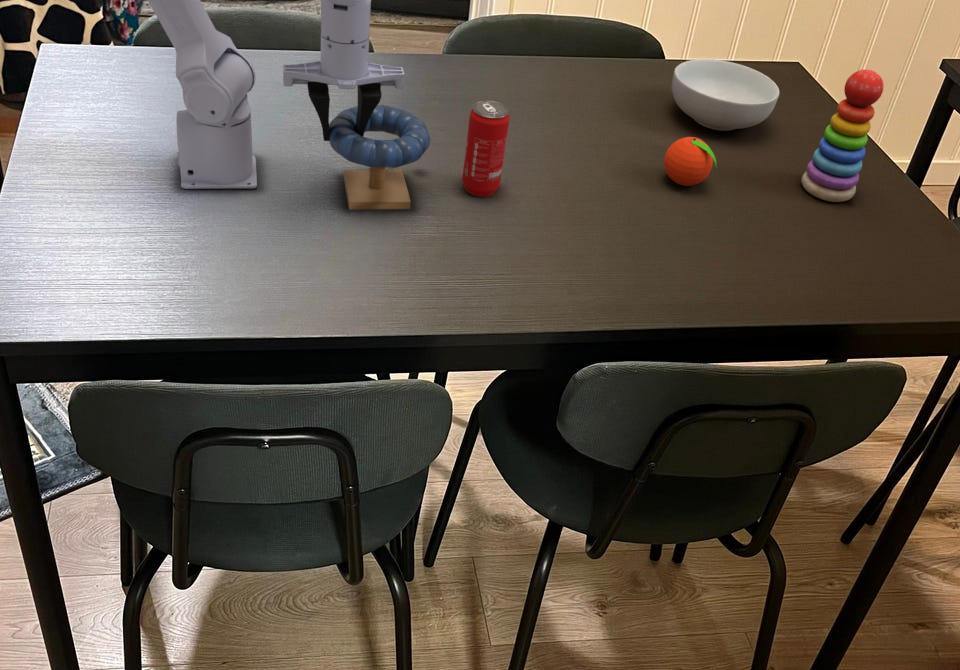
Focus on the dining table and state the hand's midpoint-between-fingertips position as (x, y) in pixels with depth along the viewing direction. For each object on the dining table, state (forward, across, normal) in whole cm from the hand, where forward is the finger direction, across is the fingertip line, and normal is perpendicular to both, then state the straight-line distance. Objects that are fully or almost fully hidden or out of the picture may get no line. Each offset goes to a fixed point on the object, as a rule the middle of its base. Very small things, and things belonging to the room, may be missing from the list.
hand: (342, 137), depth 122 cm
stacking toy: (+9, +72, 0) cm, 73 cm away
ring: (0, +5, 0) cm, 5 cm away
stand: (+8, +5, 0) cm, 10 cm away
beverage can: (+8, +19, +1) cm, 21 cm away
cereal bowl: (+8, +63, +22) cm, 67 cm away
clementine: (+8, +50, +2) cm, 51 cm away
